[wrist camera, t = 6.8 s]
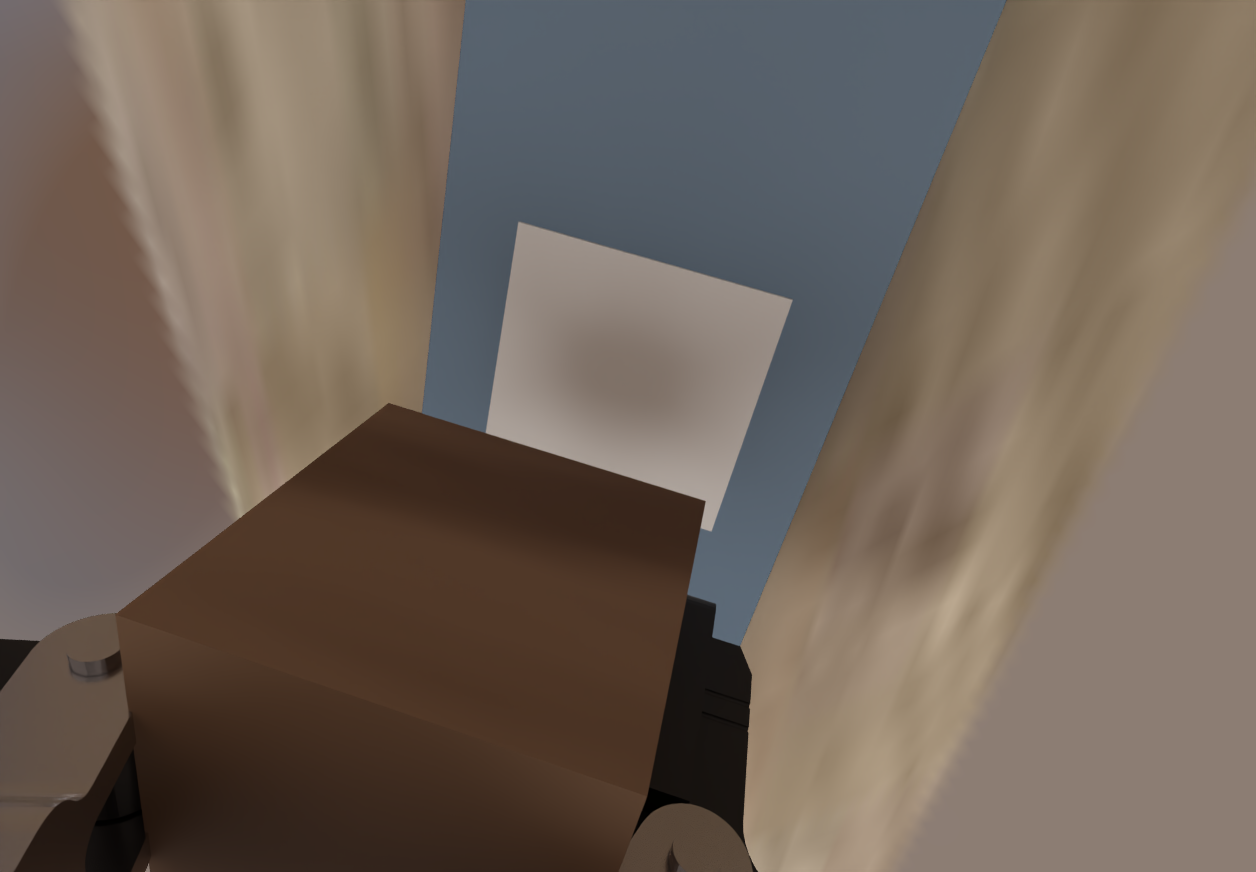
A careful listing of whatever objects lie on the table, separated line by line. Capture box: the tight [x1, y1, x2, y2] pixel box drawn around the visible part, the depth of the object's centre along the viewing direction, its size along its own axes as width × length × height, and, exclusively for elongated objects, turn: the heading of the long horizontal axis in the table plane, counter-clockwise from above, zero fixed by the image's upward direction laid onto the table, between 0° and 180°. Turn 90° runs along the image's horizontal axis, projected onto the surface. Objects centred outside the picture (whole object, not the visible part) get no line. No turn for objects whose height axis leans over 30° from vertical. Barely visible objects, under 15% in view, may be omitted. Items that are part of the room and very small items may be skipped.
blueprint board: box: [422, 0, 1006, 646], centre depth 20 cm, size 23×11×1 cm, turn 167°
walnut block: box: [115, 403, 706, 872], centre depth 10 cm, size 5×5×5 cm
